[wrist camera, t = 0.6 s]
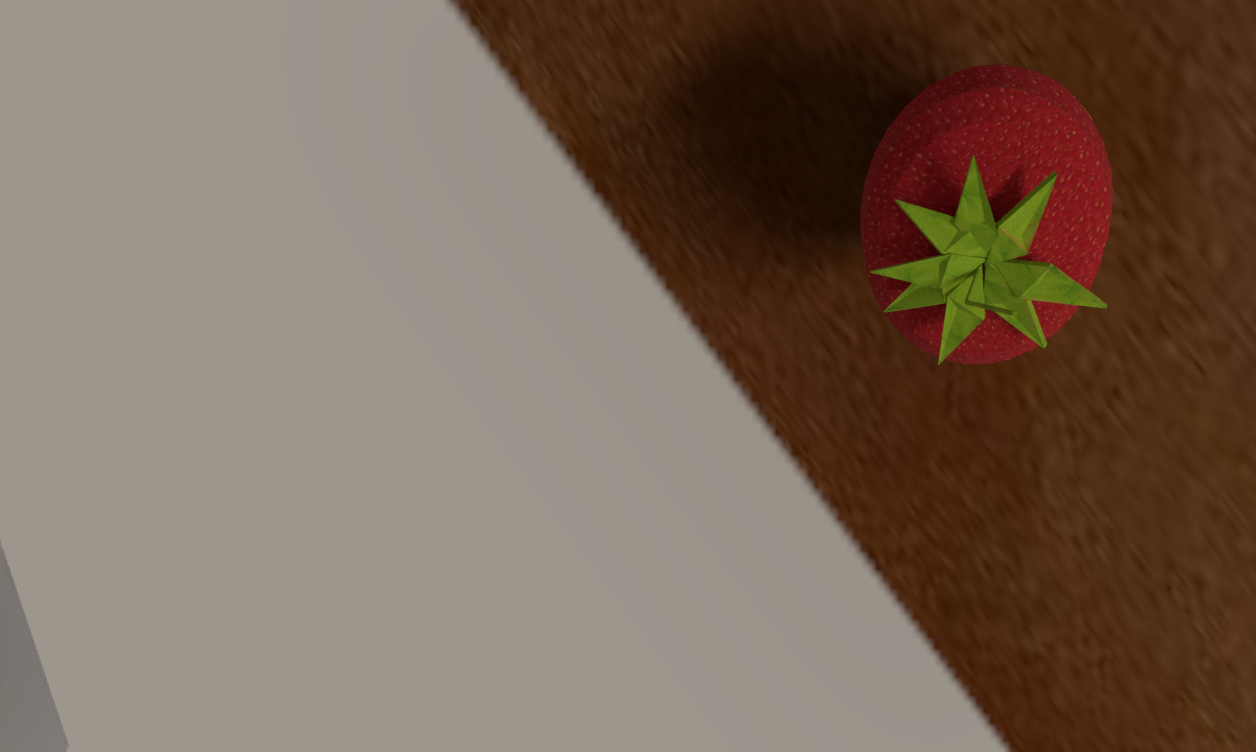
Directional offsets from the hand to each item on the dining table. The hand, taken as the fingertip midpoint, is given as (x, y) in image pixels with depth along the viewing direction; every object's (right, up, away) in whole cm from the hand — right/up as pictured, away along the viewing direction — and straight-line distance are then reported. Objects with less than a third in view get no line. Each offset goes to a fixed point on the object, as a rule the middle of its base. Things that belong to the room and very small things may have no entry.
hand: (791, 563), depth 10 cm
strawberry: (+9, +8, +24) cm, 27 cm away
